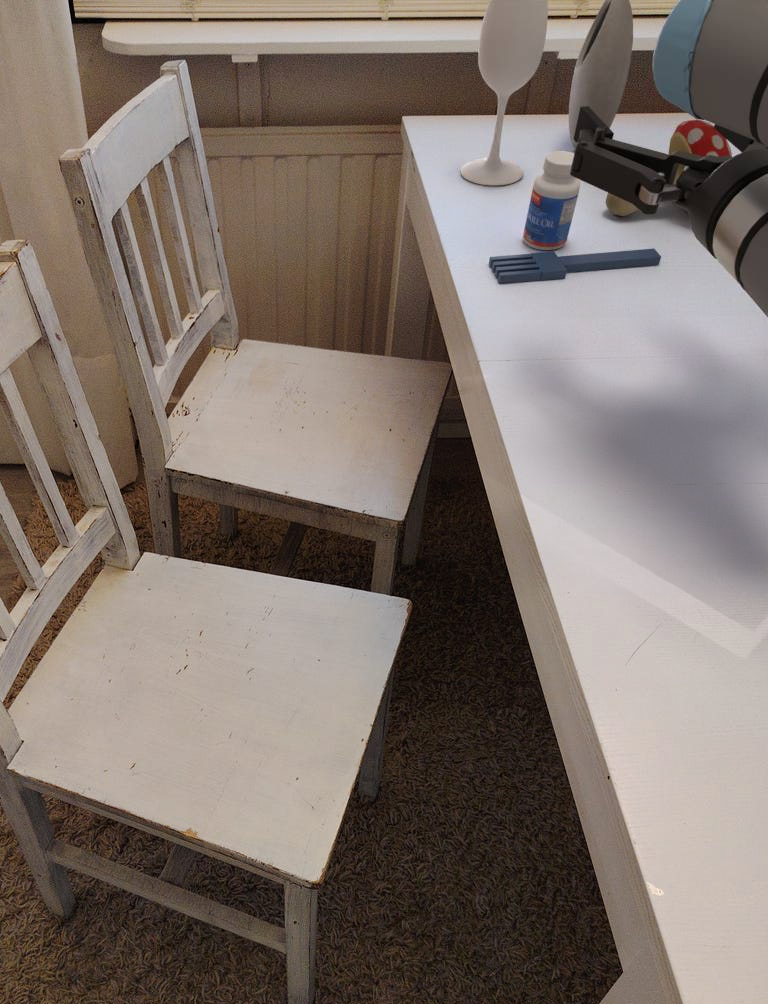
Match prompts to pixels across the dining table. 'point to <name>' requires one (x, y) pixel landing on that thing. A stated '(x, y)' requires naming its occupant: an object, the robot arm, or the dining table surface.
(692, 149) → the decorative mushroom
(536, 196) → the pill bottle
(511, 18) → the wineglass
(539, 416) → the dining table surface
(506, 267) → the serving fork
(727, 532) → the dining table surface
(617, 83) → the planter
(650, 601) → the dining table surface
